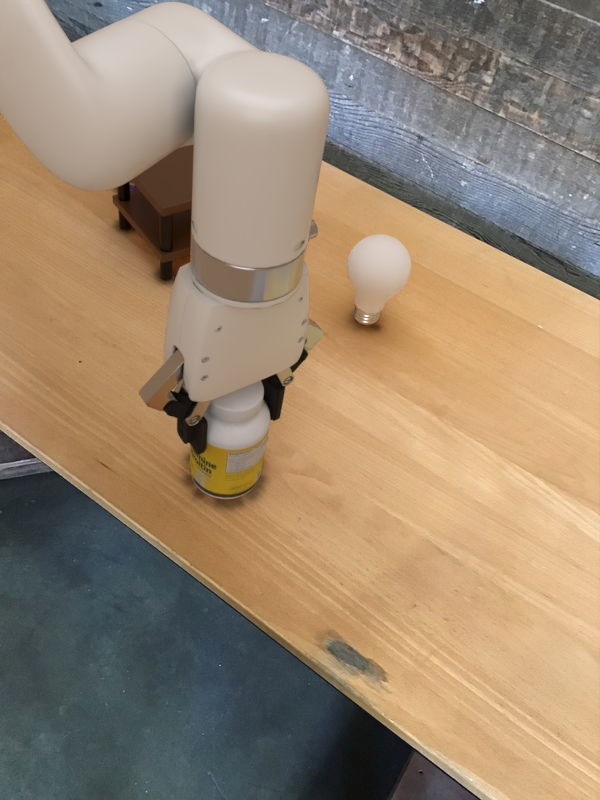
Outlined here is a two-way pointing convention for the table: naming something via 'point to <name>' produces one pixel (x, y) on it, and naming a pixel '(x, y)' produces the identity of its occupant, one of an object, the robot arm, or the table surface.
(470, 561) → the table surface
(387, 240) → the light bulb
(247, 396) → the pill bottle
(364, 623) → the table surface
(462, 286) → the table surface
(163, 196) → the stand
